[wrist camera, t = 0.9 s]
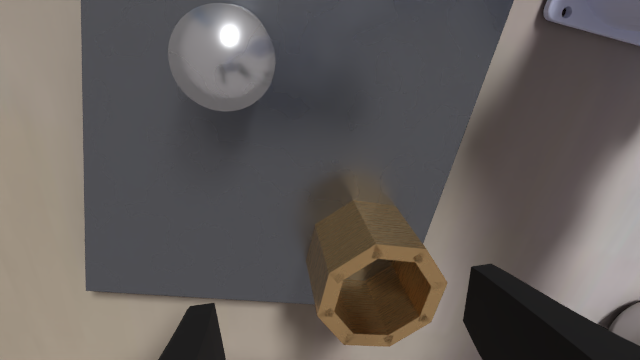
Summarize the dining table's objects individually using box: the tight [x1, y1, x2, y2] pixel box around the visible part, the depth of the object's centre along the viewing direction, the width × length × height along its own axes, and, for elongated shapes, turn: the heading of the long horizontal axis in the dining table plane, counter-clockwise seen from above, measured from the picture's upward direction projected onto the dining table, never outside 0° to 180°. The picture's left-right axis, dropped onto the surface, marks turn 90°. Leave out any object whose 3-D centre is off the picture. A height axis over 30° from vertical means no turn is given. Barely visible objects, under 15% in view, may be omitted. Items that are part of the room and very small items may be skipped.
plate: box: [81, 0, 514, 304], centre depth 16 cm, size 17×18×6 cm
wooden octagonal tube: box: [306, 200, 447, 346], centre depth 19 cm, size 6×6×4 cm
